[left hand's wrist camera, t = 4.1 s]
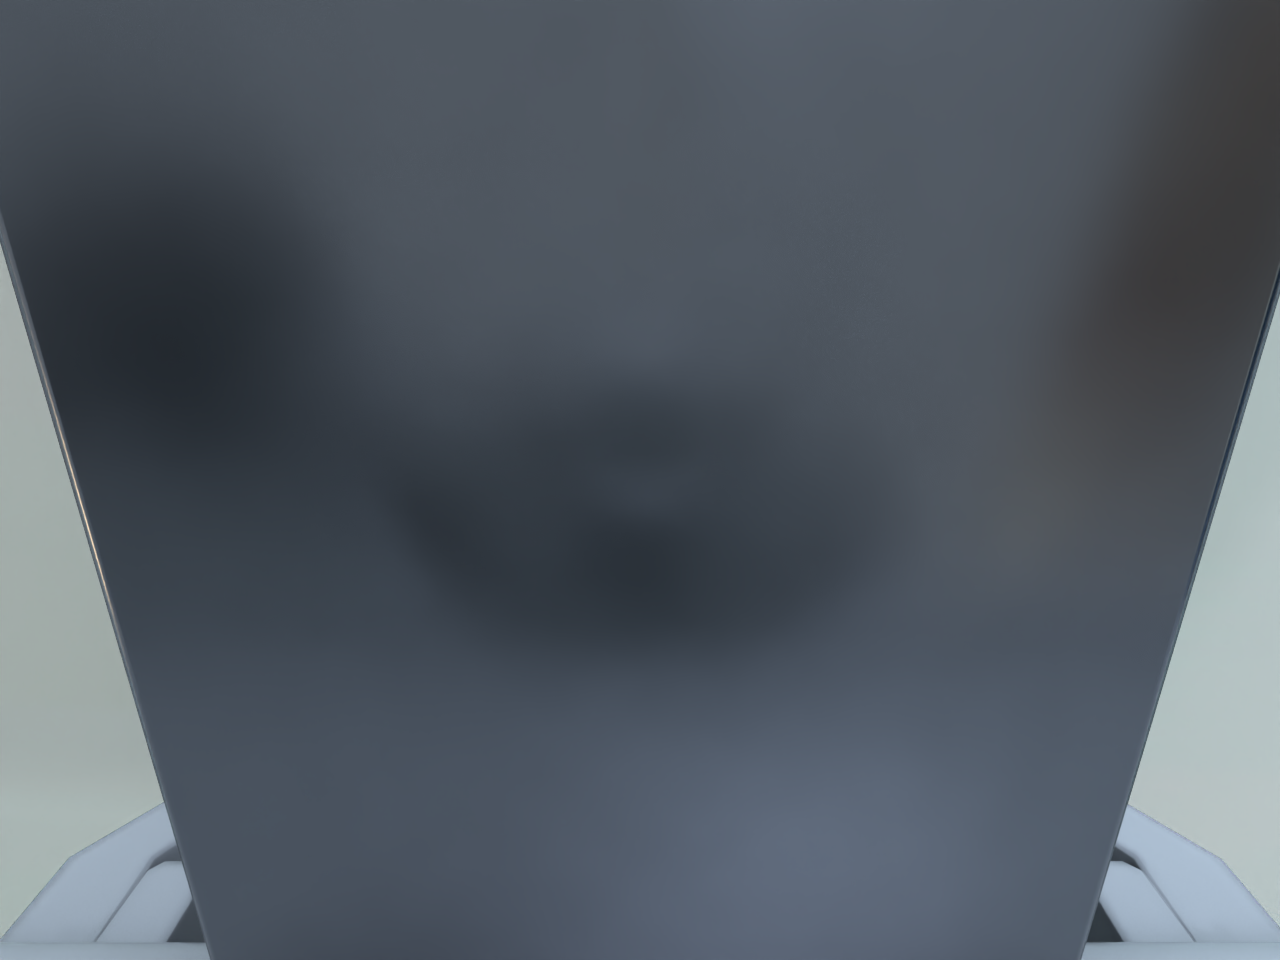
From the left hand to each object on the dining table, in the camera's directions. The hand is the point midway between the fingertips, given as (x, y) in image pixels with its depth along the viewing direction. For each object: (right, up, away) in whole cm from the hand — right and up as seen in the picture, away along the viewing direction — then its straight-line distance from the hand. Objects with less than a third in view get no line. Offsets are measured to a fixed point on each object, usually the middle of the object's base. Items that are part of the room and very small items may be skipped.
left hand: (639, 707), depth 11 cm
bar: (0, +8, 0) cm, 8 cm away
